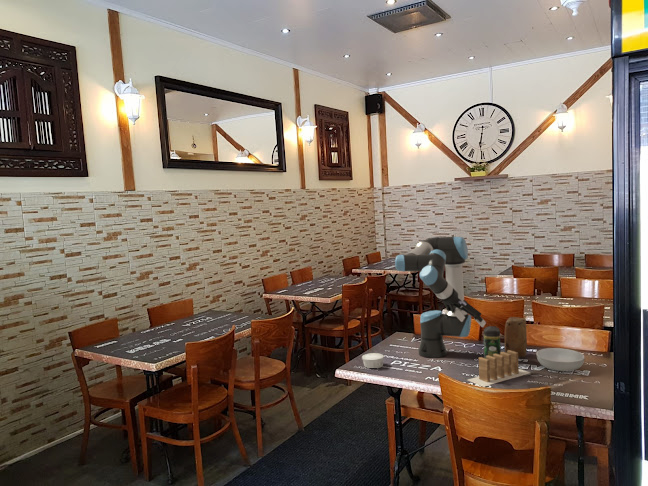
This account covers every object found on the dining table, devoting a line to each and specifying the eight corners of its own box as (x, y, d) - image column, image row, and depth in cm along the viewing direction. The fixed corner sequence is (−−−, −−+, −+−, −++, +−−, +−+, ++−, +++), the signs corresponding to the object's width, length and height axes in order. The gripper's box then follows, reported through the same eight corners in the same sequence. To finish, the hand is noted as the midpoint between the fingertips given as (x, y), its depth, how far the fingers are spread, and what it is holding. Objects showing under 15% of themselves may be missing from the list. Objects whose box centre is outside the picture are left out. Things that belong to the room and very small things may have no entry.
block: (527, 354, 253) (527, 317, 252) (525, 358, 247) (524, 320, 246) (506, 352, 259) (505, 315, 258) (503, 356, 253) (502, 319, 251)
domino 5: (516, 374, 224) (515, 353, 223) (507, 371, 228) (507, 350, 227) (518, 373, 224) (518, 352, 224) (510, 370, 229) (509, 350, 228)
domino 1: (487, 382, 216) (486, 360, 215) (479, 379, 220) (478, 357, 219) (490, 381, 216) (489, 359, 216) (481, 378, 221) (481, 357, 220)
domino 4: (509, 376, 222) (508, 355, 221) (500, 373, 226) (500, 352, 225) (511, 375, 222) (511, 354, 222) (503, 372, 227) (502, 351, 226)
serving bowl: (526, 366, 237) (526, 352, 236) (557, 358, 245) (557, 345, 244) (562, 379, 218) (562, 364, 217) (595, 370, 226) (594, 356, 225)
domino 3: (502, 378, 220) (501, 356, 219) (493, 375, 224) (493, 354, 223) (504, 377, 220) (504, 356, 220) (496, 374, 225) (495, 353, 224)
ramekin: (360, 369, 246) (359, 359, 245) (365, 362, 256) (365, 352, 256) (381, 370, 242) (381, 360, 241) (386, 363, 252) (386, 353, 252)
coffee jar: (484, 359, 249) (483, 324, 248) (501, 360, 246) (500, 325, 245) (484, 366, 240) (483, 329, 239) (501, 367, 237) (500, 330, 236)
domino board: (482, 388, 211) (482, 386, 211) (466, 381, 220) (466, 379, 220) (531, 374, 224) (530, 372, 224) (513, 369, 233) (513, 367, 233)
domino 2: (494, 380, 218) (494, 358, 217) (486, 377, 222) (485, 355, 221) (497, 379, 218) (496, 358, 218) (489, 376, 223) (488, 355, 222)
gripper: (423, 296, 220) (450, 323, 228) (461, 304, 199) (489, 334, 206) (432, 283, 222) (458, 311, 230) (470, 290, 201) (498, 320, 208)
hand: (473, 322), depth 218 cm, fingers open, 12 cm apart
